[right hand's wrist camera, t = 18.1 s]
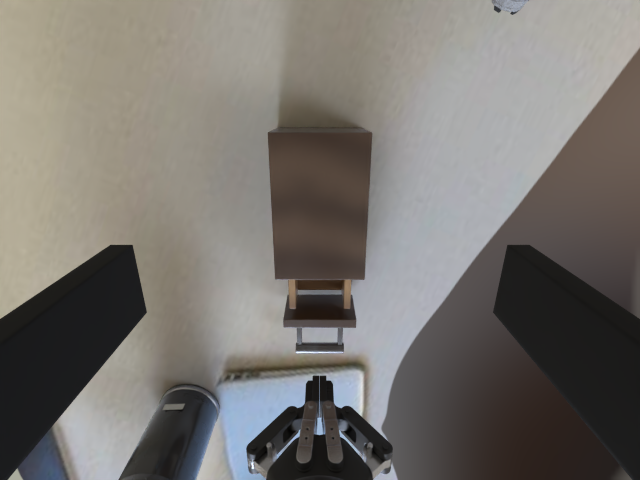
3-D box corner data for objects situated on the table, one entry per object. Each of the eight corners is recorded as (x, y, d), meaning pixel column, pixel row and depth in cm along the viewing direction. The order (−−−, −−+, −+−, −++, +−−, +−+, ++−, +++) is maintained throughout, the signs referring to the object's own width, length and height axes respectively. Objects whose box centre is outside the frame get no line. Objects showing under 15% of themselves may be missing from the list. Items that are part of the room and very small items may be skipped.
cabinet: (357, 252, 47) (364, 279, 39) (282, 252, 47) (275, 279, 39) (362, 127, 41) (372, 132, 34) (277, 127, 41) (267, 132, 34)
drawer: (350, 335, 51) (354, 364, 45) (289, 335, 51) (285, 364, 45) (355, 198, 43) (361, 212, 38) (284, 198, 43) (278, 212, 37)
